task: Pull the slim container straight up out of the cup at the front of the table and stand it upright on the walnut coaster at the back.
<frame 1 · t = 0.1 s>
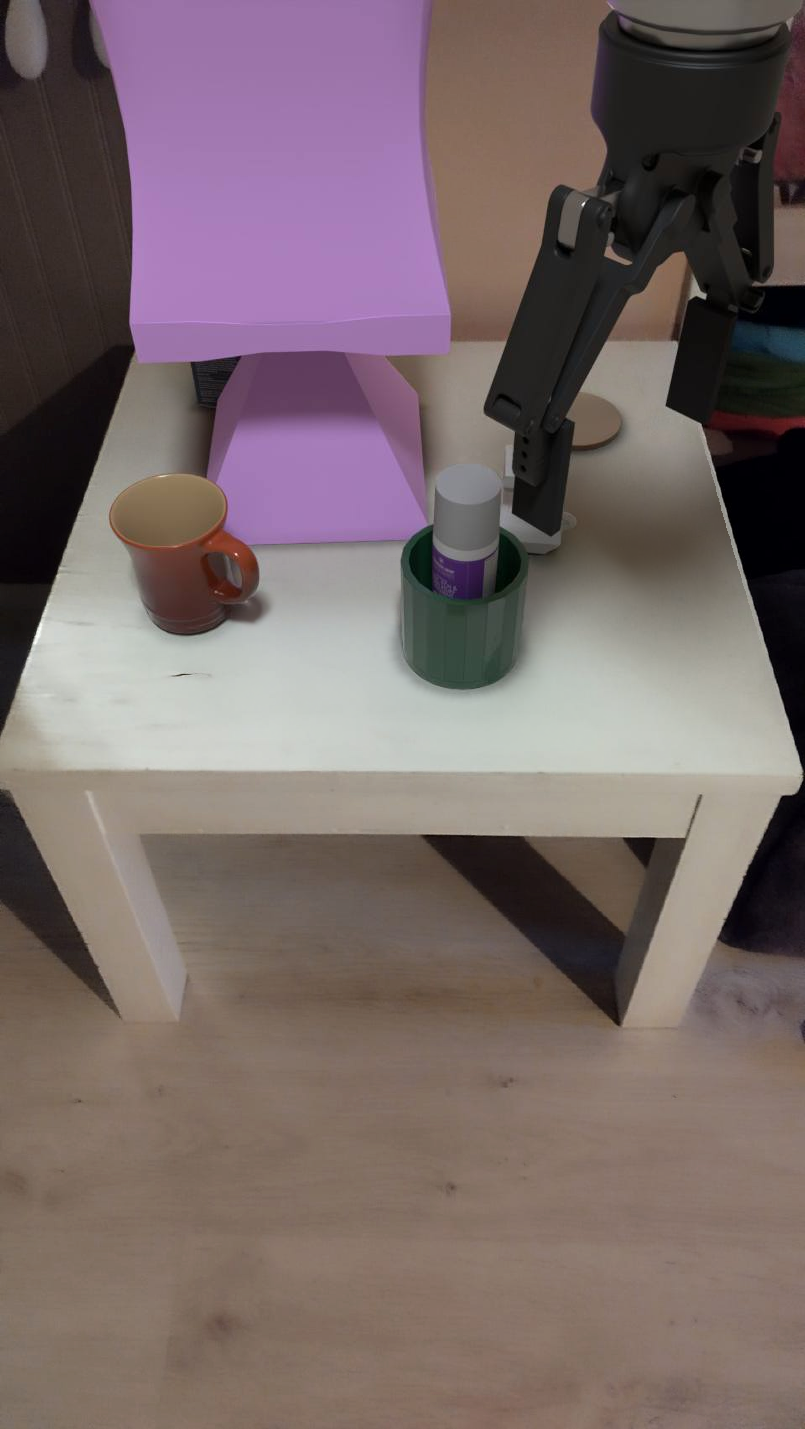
hand: (615, 465, 56), 24 cm above the table, tool pointing down, fingers open, 13 cm apart
box: (234, 389, 103), on the table
mug: (208, 617, 83), on the table
container: (461, 640, 79), point 1 cm above the table, touching cup
coaster: (574, 423, 99), on the table
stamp: (521, 540, 88), on the table
chair: (317, 474, 94), on the table
cup: (460, 645, 80), on the table
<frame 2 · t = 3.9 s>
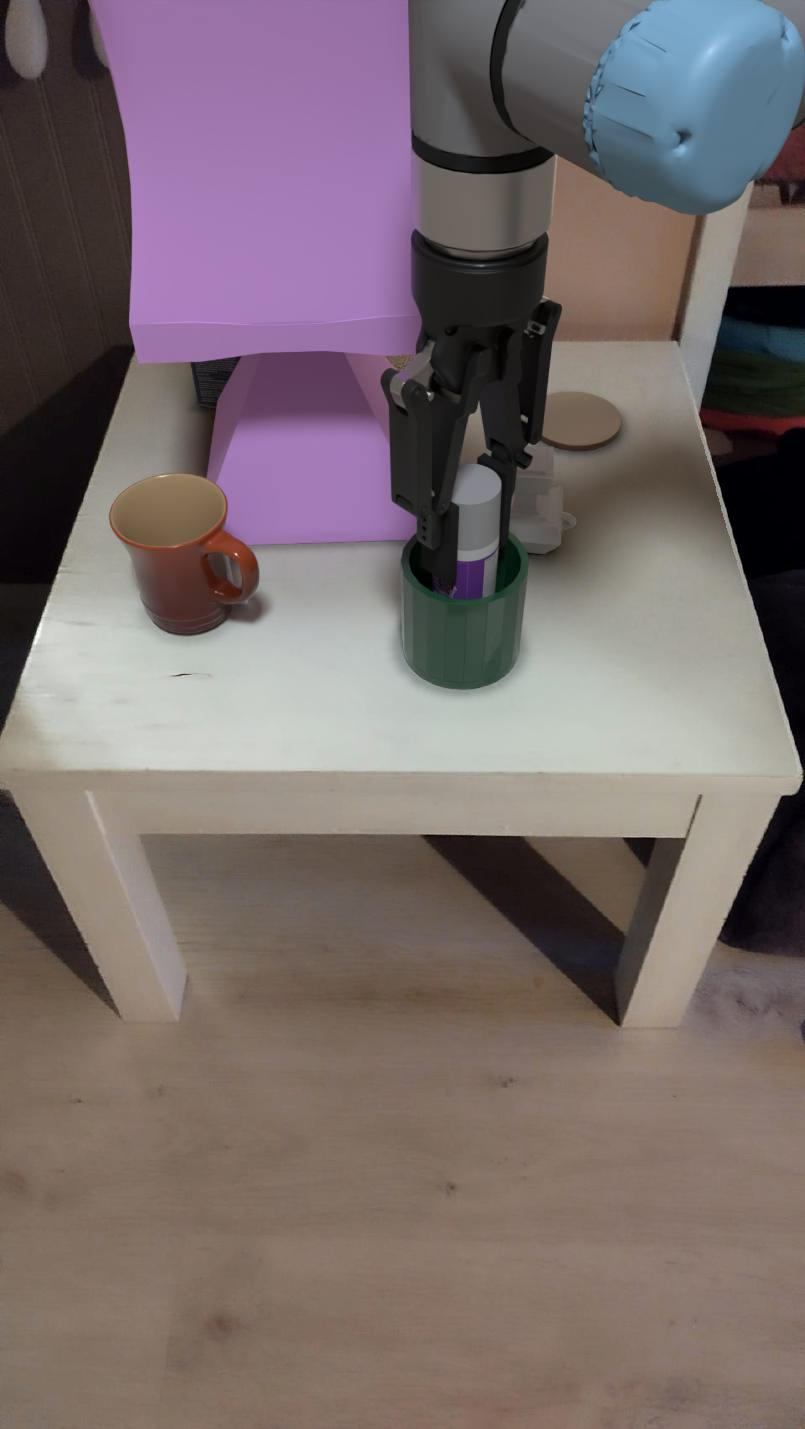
hand: (465, 554, 73), 10 cm above the table, tool pointing down, fingers closed on container, 5 cm apart
container: (461, 640, 79), point 1 cm above the table, touching gripper, cup
everything else where it was.
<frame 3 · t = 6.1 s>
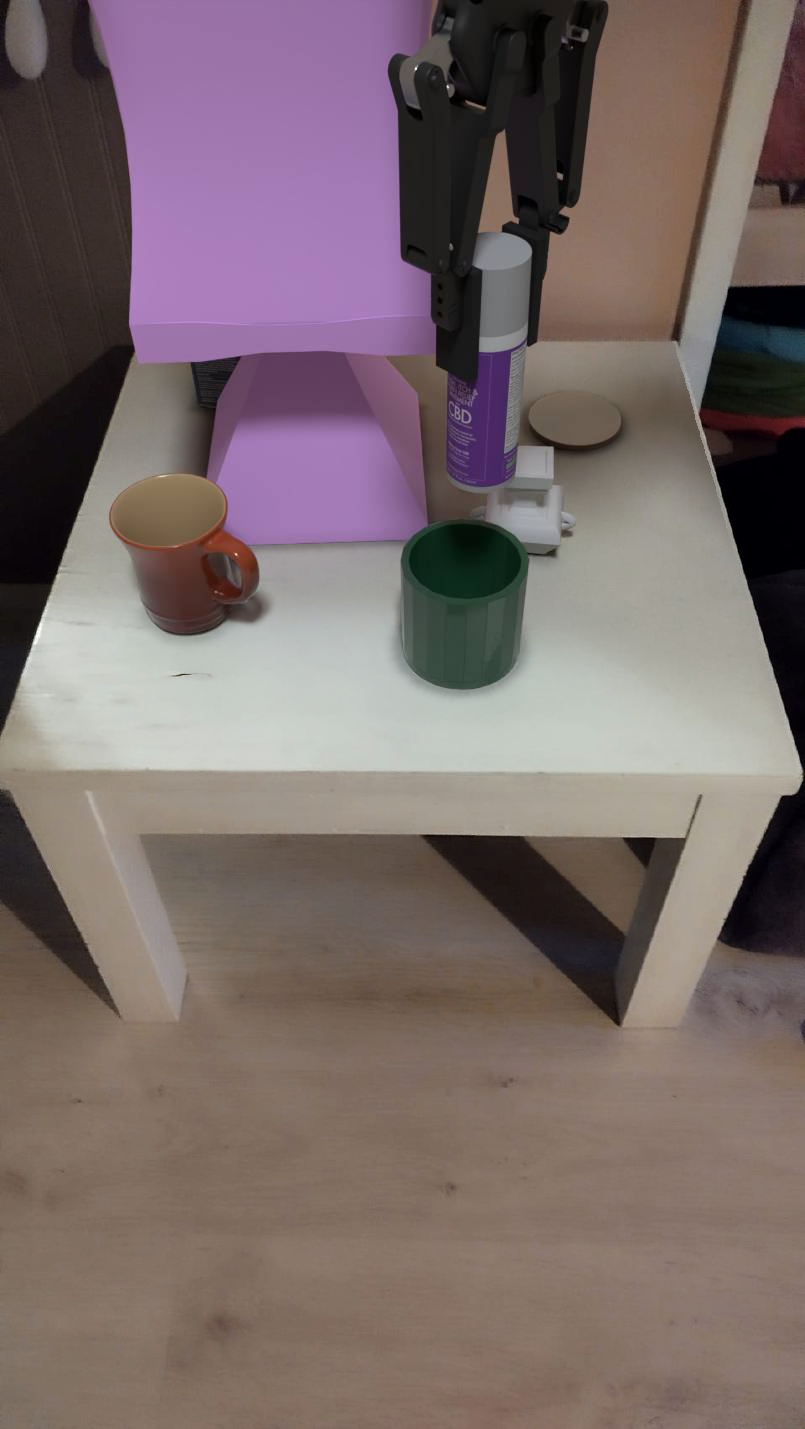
hand: (487, 353, 61), 25 cm above the table, tool pointing down, fingers closed on container, 5 cm apart
container: (480, 474, 68), point 16 cm above the table, touching gripper
everything else where it was.
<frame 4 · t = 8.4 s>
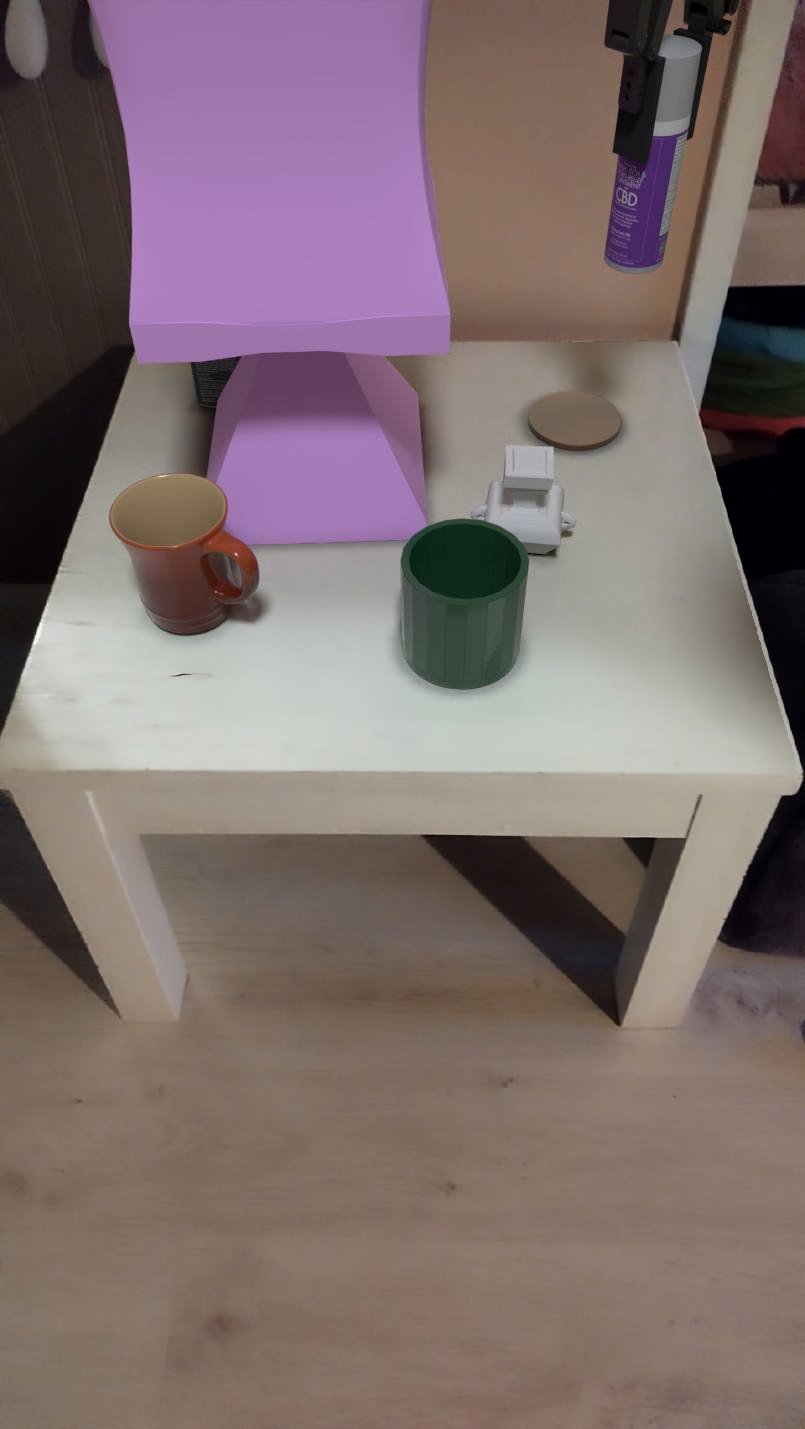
hand: (653, 144, 74), 27 cm above the table, tool pointing down, fingers closed on container, 5 cm apart
container: (632, 262, 81), point 18 cm above the table, touching gripper
everything else where it was.
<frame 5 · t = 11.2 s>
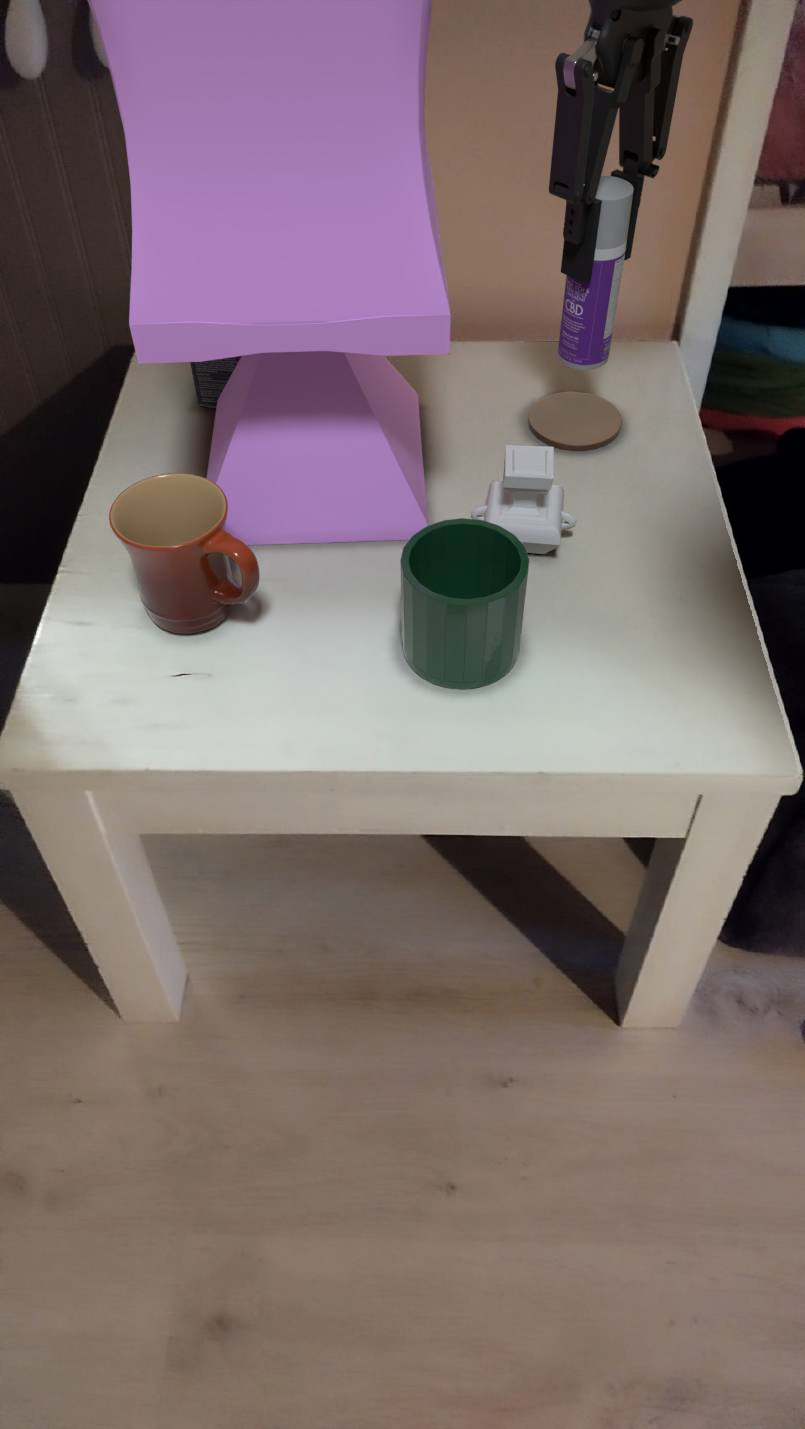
hand: (595, 264, 87), 16 cm above the table, tool pointing down, fingers closed on container, 5 cm apart
container: (582, 358, 93), point 7 cm above the table, touching gripper
everything else where it was.
when the fingers open (9 cm above the table, at t = 13.0 s): container stays where it is, resting on coaster.
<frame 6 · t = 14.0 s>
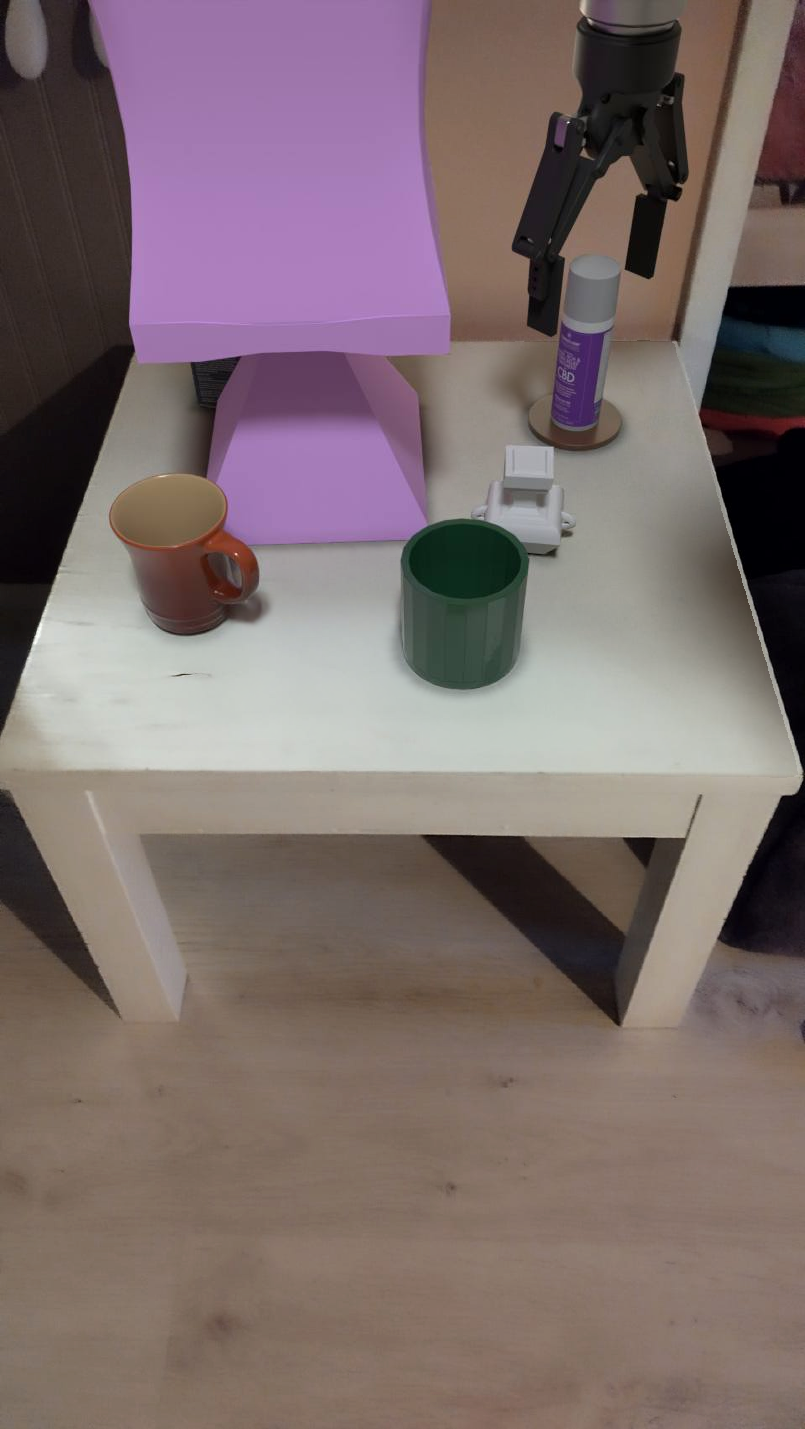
hand: (591, 301, 89), 13 cm above the table, tool pointing down, fingers open, 13 cm apart
container: (574, 419, 98), resting on coaster
everything else where it was.
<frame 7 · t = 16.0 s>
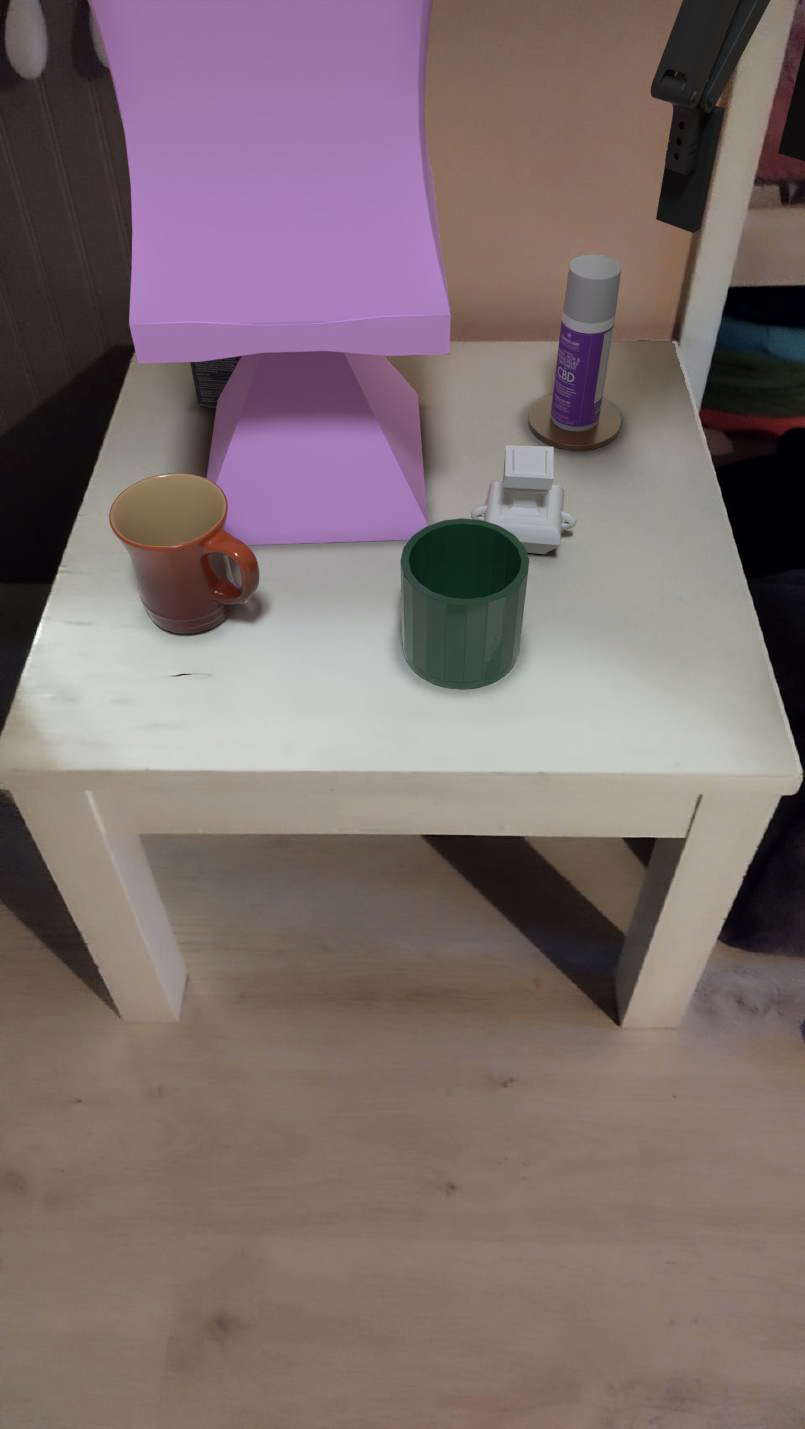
hand: (741, 190, 64), 30 cm above the table, tool pointing down, fingers open, 13 cm apart
nothing on the table moved.
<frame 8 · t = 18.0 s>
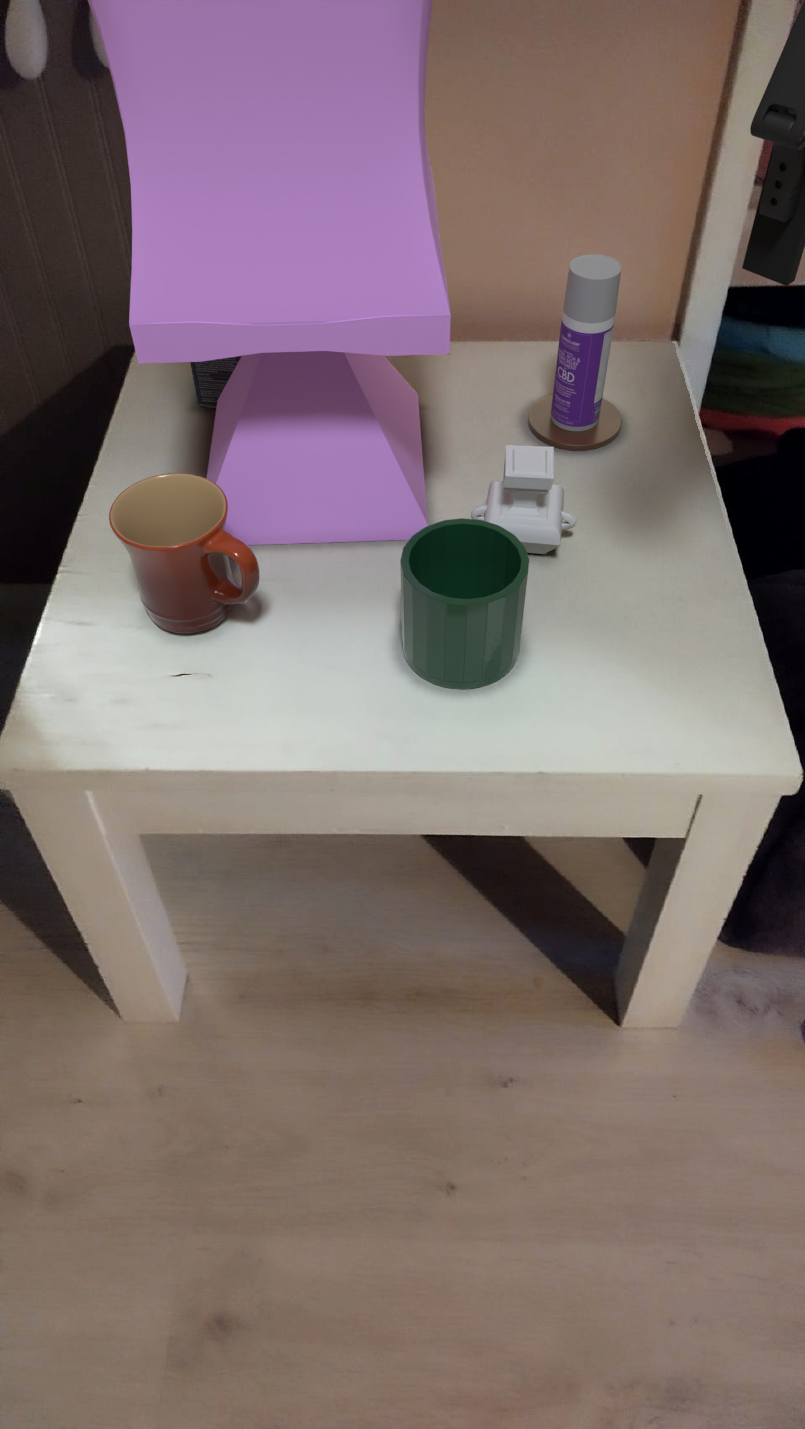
nothing on the table moved.
at the end: container 0.0 cm off-centre on the coaster, point 0.4 cm above the coaster's base; container tilted 0°; the gripper is holding nothing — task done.
